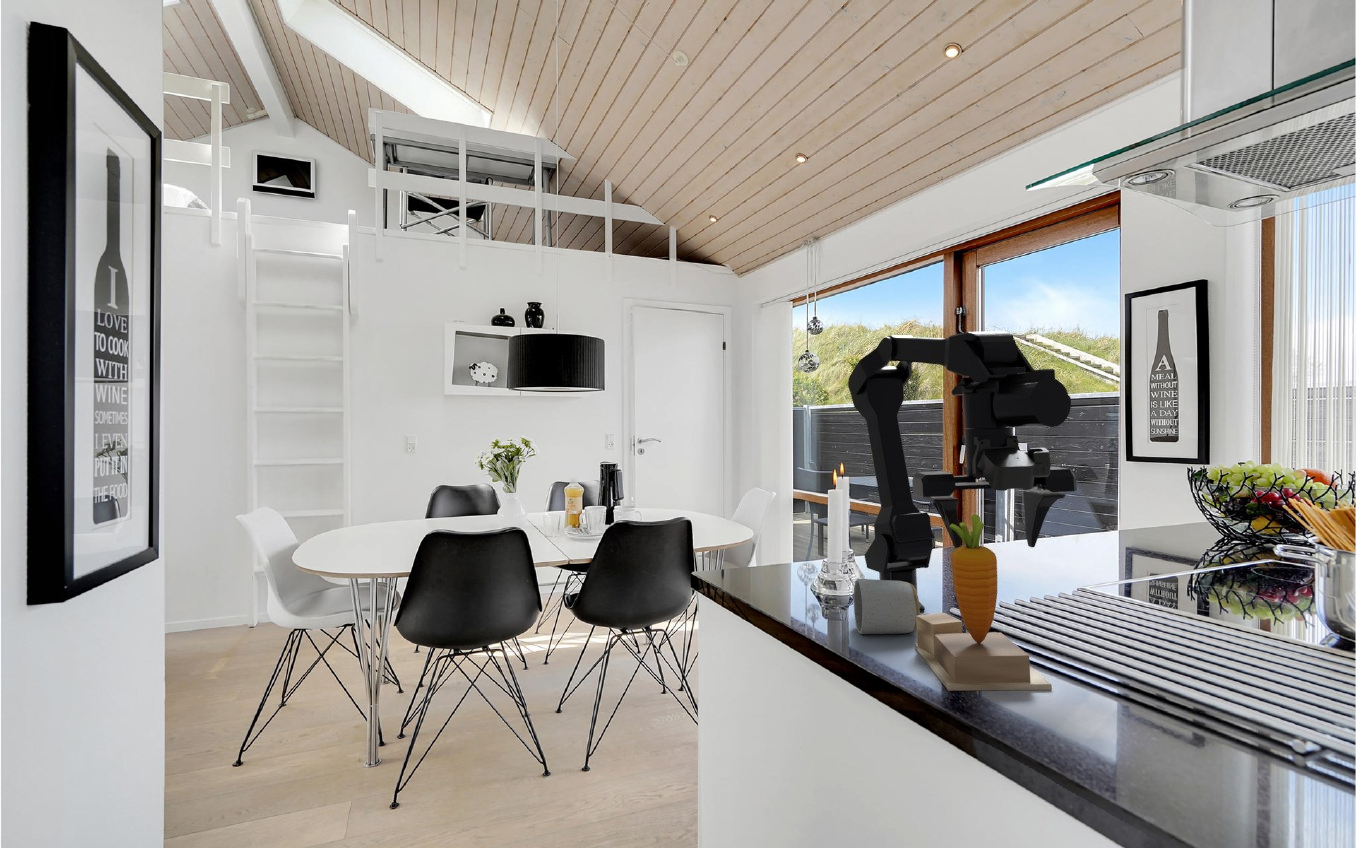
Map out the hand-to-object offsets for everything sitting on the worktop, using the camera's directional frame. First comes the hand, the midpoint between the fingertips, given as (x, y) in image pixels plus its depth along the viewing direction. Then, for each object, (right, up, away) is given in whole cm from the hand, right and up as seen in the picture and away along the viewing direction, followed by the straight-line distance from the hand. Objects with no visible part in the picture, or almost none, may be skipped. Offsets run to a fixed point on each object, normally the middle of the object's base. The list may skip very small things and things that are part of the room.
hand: (994, 548), depth 86 cm
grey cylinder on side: (-11, -14, +10) cm, 21 cm away
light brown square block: (-6, -13, -8) cm, 16 cm away
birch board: (-5, -13, -6) cm, 15 cm away
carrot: (-6, -10, -8) cm, 14 cm away
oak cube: (-8, -13, -1) cm, 15 cm away
